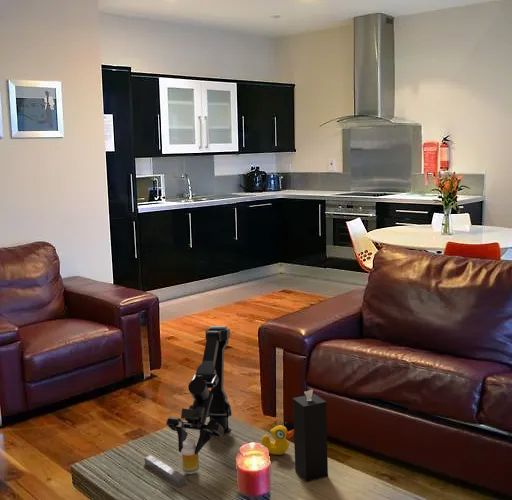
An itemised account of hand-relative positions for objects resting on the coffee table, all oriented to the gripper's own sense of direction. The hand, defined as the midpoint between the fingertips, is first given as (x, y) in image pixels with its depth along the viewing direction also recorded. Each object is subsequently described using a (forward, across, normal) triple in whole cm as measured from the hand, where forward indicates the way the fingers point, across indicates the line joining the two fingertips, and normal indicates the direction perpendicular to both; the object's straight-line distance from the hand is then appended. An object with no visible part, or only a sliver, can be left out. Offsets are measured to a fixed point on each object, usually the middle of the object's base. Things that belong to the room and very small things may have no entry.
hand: (187, 452), depth 202 cm
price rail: (+7, -8, +5) cm, 11 cm away
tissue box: (-3, +37, +14) cm, 40 cm away
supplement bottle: (+4, 0, +6) cm, 7 cm away
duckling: (-10, +22, +22) cm, 33 cm away
